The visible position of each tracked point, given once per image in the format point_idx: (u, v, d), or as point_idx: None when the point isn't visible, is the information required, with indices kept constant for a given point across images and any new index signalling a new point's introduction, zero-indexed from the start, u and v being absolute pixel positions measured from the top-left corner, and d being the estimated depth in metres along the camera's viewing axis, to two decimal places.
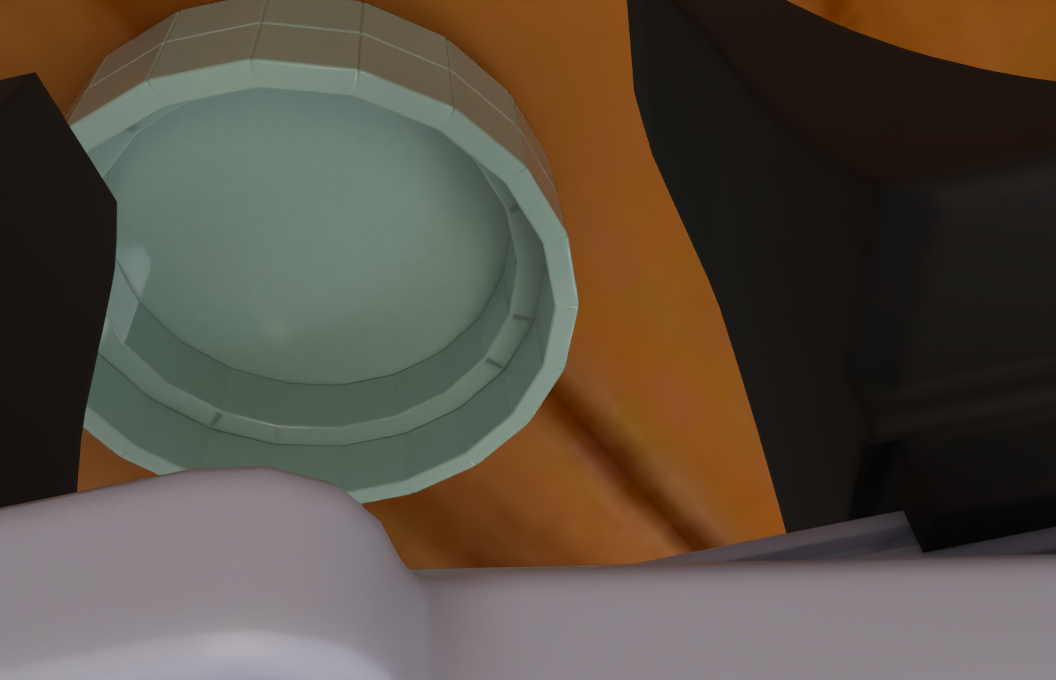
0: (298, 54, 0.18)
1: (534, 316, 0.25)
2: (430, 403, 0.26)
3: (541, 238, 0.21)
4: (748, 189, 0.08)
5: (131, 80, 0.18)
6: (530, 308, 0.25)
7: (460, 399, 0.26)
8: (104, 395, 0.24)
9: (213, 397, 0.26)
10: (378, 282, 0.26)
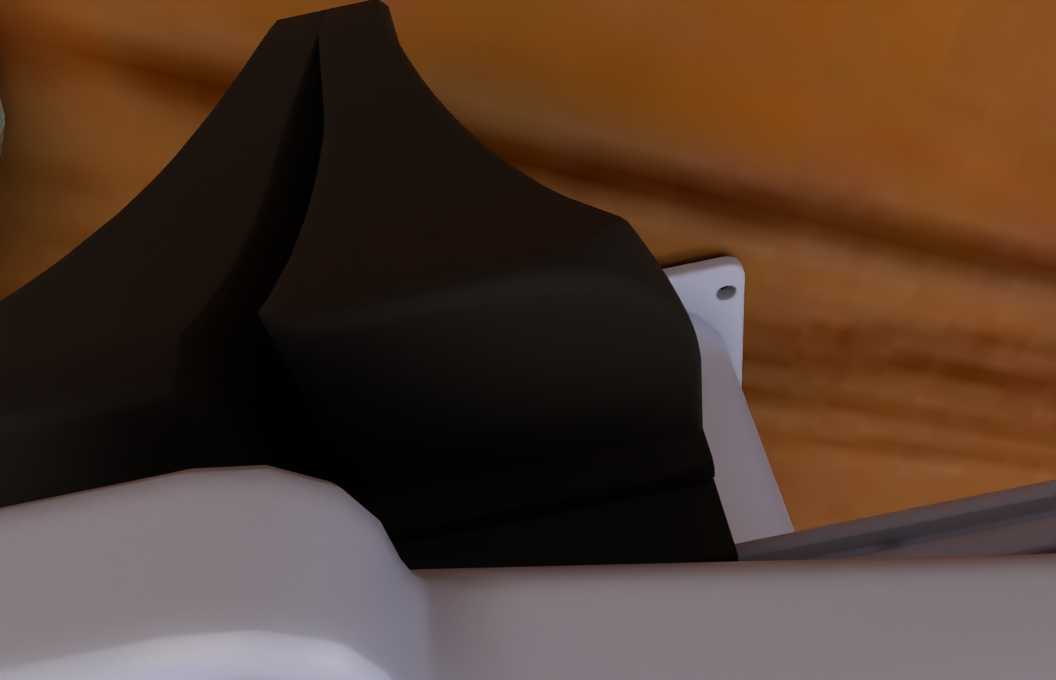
0: None
1: None
2: None
3: None
4: None
5: None
6: None
7: None
8: None
9: None
10: None
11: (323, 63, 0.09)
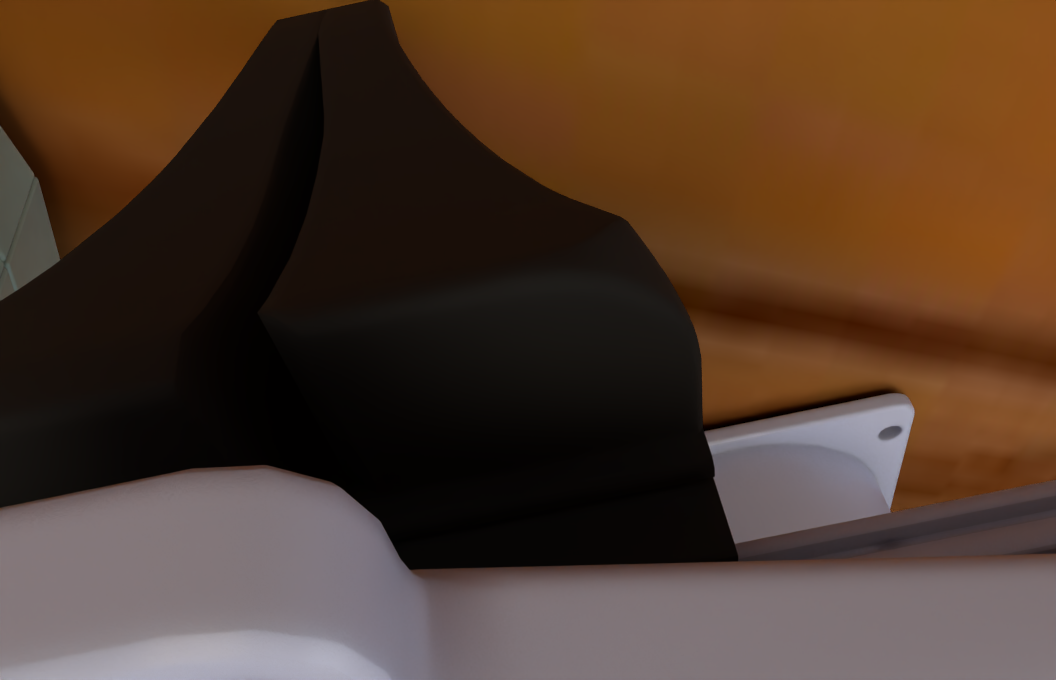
0: None
1: None
2: None
3: None
4: None
5: None
6: None
7: None
8: None
9: None
10: None
11: (323, 63, 0.09)
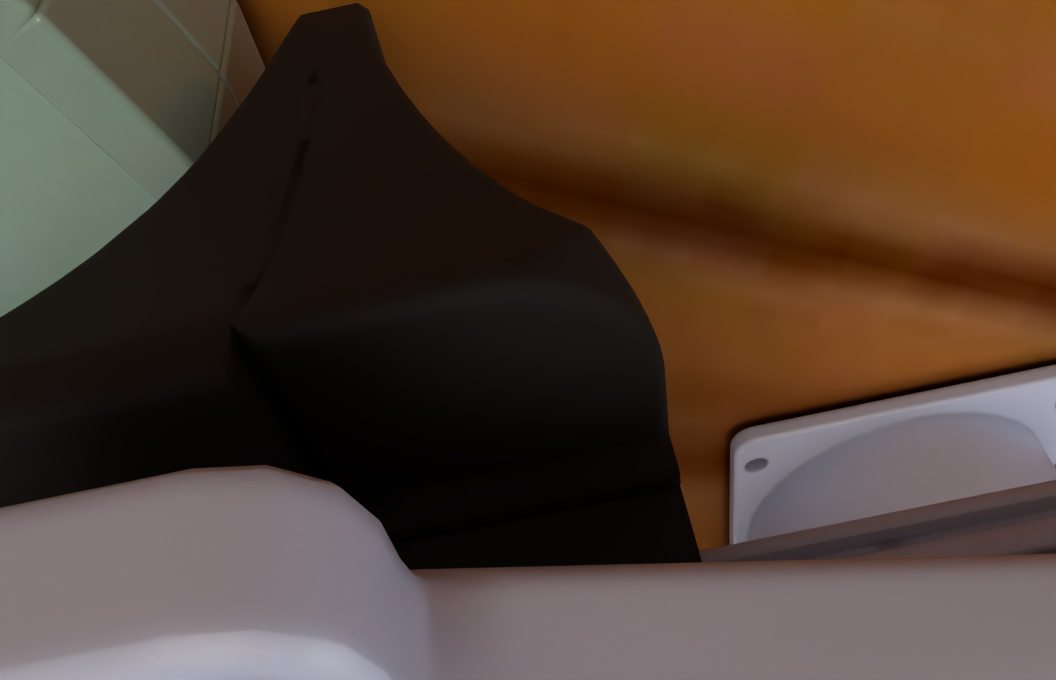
0: None
1: None
2: None
3: None
4: None
5: None
6: None
7: None
8: None
9: None
10: None
11: (301, 68, 0.09)
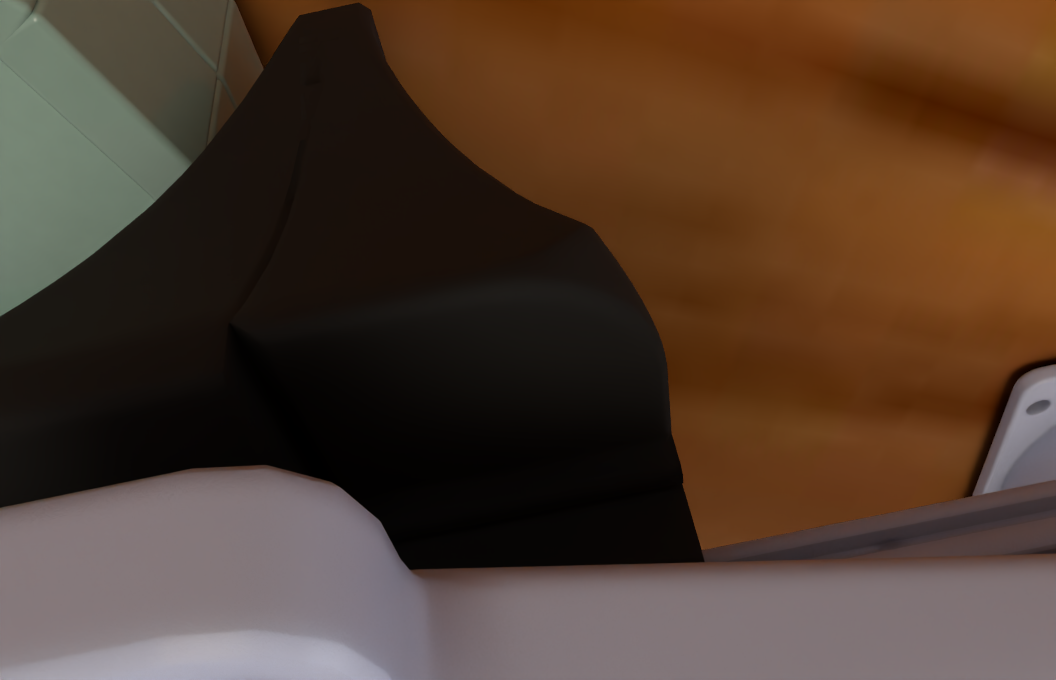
0: None
1: None
2: None
3: None
4: None
5: None
6: None
7: None
8: None
9: None
10: None
11: (302, 68, 0.09)
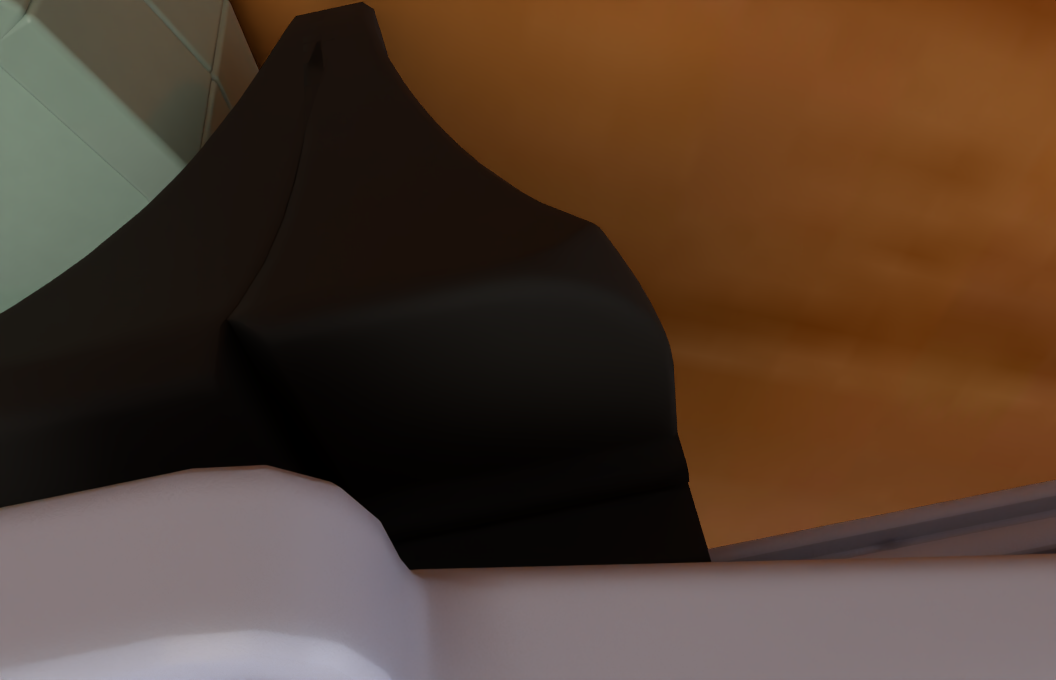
0: None
1: None
2: None
3: None
4: None
5: None
6: None
7: None
8: None
9: None
10: None
11: (306, 67, 0.09)
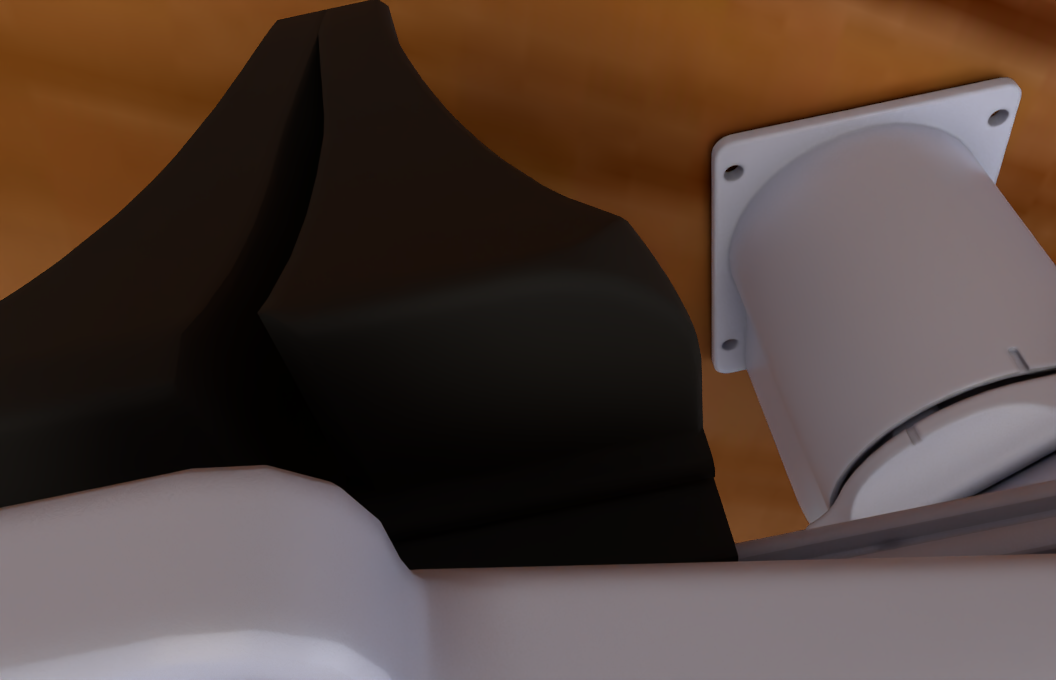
0: None
1: None
2: None
3: None
4: None
5: None
6: None
7: None
8: None
9: None
10: None
11: (323, 63, 0.09)
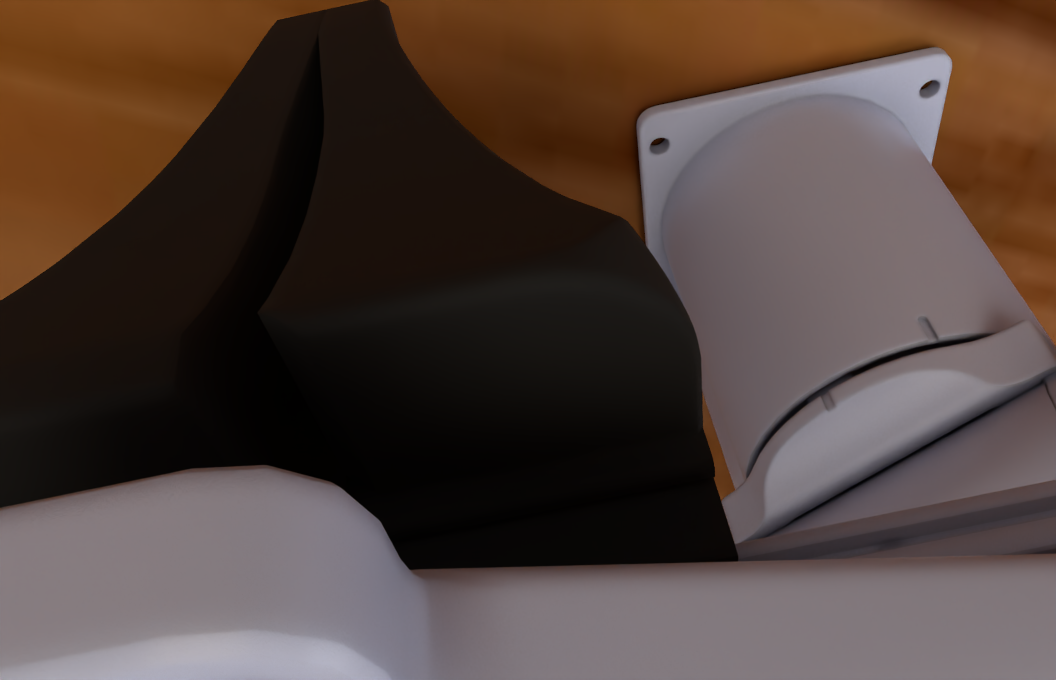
0: None
1: None
2: None
3: None
4: None
5: None
6: None
7: None
8: None
9: None
10: None
11: (323, 63, 0.09)
